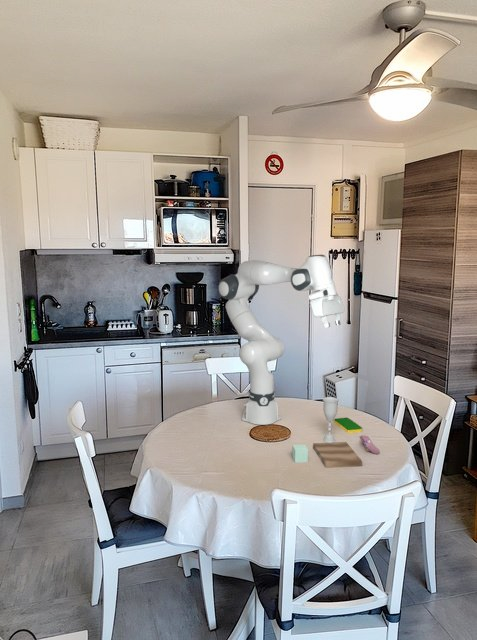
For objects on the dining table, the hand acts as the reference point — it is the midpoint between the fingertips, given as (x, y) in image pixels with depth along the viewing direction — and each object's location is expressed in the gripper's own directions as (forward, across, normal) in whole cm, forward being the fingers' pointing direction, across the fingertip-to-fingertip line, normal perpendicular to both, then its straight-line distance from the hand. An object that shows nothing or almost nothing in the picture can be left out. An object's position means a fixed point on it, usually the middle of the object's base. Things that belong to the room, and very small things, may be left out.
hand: (333, 326), depth 194 cm
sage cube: (+48, +20, -17) cm, 54 cm away
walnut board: (+50, +8, -8) cm, 52 cm away
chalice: (+47, -4, -17) cm, 50 cm away
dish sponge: (+47, -24, -18) cm, 56 cm away
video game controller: (+53, -6, -1) cm, 53 cm away
